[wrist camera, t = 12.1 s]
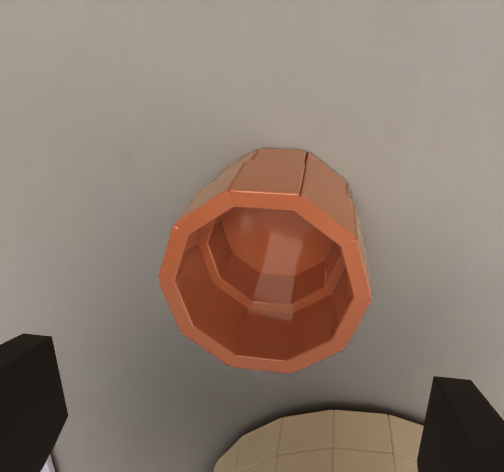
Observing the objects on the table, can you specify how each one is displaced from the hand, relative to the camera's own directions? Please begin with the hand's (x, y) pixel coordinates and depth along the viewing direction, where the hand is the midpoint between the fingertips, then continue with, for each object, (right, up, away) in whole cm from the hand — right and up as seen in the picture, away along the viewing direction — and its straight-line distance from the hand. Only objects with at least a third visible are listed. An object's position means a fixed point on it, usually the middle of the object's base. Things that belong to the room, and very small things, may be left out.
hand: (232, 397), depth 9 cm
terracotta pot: (+1, +4, +7) cm, 8 cm away
